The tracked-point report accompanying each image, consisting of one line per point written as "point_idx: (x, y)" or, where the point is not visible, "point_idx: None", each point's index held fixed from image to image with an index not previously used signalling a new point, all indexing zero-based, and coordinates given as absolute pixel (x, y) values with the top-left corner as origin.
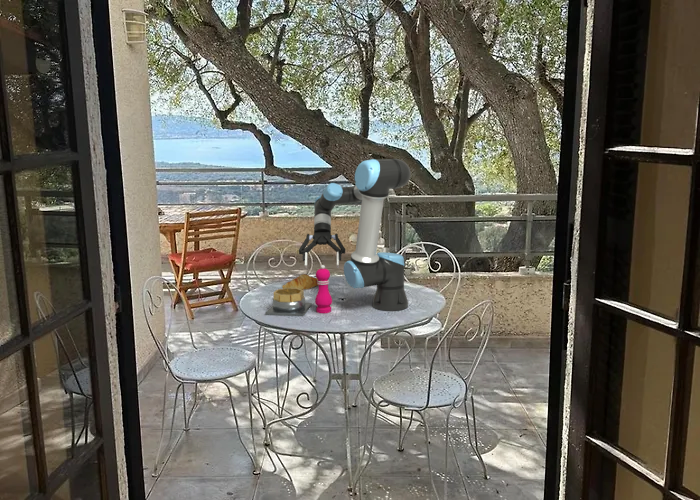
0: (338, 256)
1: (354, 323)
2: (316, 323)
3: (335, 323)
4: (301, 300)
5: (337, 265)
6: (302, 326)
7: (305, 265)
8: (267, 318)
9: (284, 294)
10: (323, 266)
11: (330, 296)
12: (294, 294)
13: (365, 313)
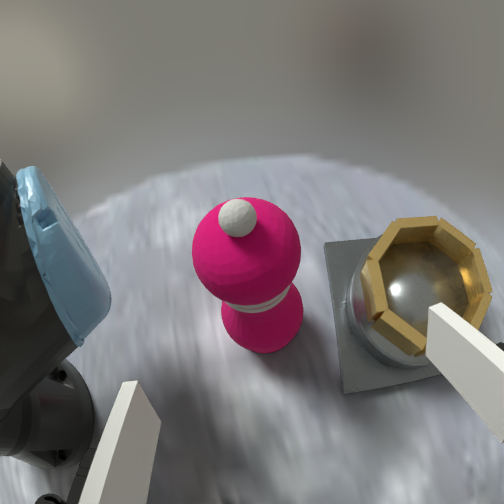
0: (96, 452)
1: (140, 218)
2: (253, 193)
3: (194, 205)
4: (357, 271)
5: (138, 391)
6: (285, 165)
7: (436, 308)
8: (420, 208)
9: None
10: (226, 203)
11: (223, 303)
12: (386, 235)
13: (110, 322)
